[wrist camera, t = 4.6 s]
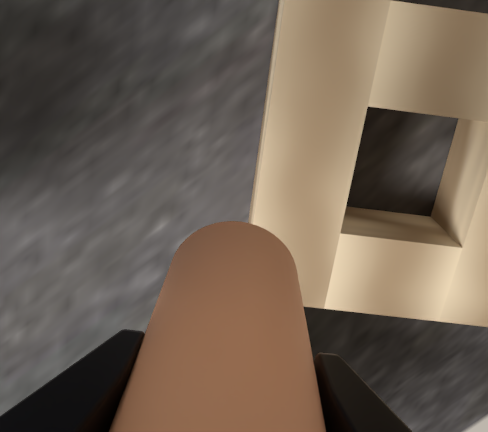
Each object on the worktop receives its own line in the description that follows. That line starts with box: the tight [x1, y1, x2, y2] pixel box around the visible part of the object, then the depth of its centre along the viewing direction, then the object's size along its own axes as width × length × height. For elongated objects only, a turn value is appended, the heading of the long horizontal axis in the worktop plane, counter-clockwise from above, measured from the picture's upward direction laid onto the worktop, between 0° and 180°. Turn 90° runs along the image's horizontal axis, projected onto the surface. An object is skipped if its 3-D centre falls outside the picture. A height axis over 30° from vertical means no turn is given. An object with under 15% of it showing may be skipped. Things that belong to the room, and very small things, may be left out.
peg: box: [109, 221, 326, 432], centre depth 7 cm, size 3×3×9 cm
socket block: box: [248, 0, 488, 327], centre depth 19 cm, size 12×12×4 cm
